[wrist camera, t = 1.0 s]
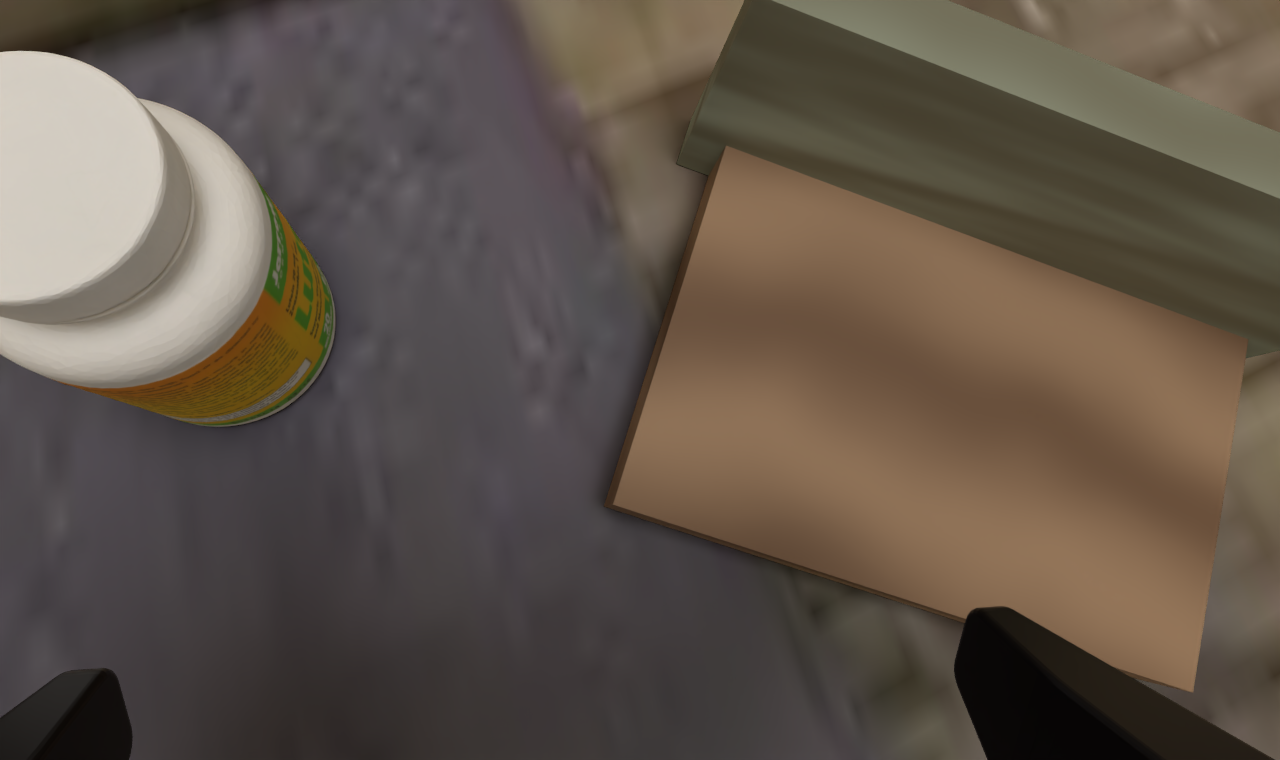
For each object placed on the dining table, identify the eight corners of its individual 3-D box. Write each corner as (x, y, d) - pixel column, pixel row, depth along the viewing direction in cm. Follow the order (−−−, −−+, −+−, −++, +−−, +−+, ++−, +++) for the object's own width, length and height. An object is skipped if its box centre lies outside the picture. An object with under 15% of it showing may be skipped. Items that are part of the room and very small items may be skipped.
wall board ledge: (1167, 689, 24) (1486, 767, 16) (568, 494, 22) (600, 478, 15) (1228, 319, 26) (1530, 233, 19) (691, 119, 25) (775, -69, 17)
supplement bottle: (377, 362, 22) (280, 241, 13) (181, 468, 21) (-87, 422, 12) (276, 191, 23) (110, -50, 13) (78, 286, 21) (-263, 96, 12)
